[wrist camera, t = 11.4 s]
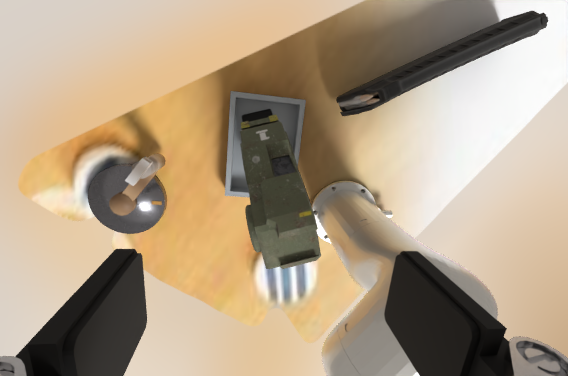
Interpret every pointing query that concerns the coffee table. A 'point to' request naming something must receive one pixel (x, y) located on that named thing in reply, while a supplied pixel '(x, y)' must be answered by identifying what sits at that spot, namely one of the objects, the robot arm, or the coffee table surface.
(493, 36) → the magazine
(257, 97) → the tray
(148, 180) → the crank
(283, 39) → the coffee table surface
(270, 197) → the mechanical leg
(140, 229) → the crank base
